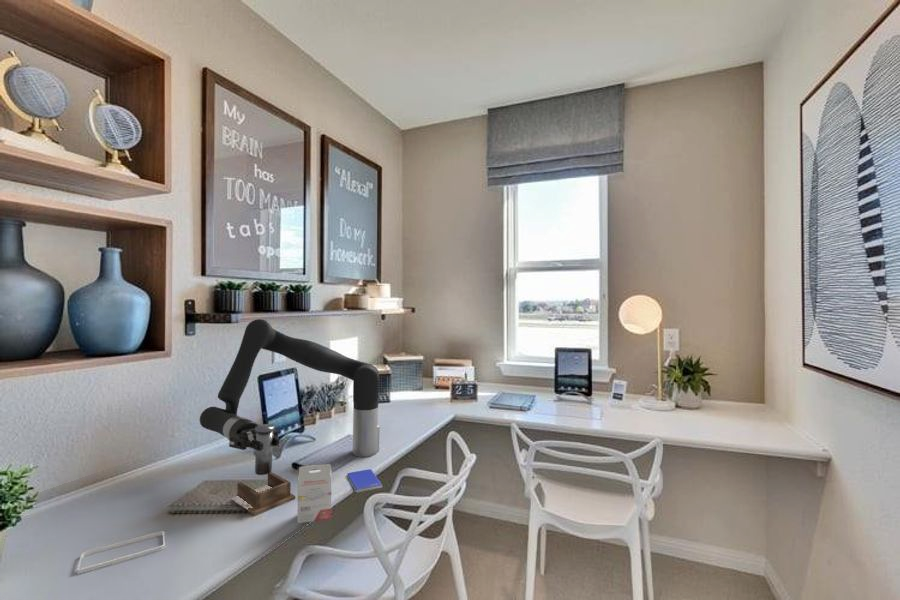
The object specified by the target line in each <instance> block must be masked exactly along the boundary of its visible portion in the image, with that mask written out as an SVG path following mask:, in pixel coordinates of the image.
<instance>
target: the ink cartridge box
mask: <svg viewBox="0 0 900 600" xmlns="http://www.w3.org/2000/svg"><path fill="white" fill-rule="evenodd" d="M331 466H332V465H331V463H327V464H314V465H306V466H304V465H303V466H299V468H298V476H297V477H298V478H297V521H296V522H297V524H304V523H311V522H319V521H326V520H331V519H332V479H333V478H332V467H331Z"/></svg>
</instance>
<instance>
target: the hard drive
mask: <svg viewBox="0 0 900 600" xmlns="http://www.w3.org/2000/svg"><path fill="white" fill-rule="evenodd" d="M346 475H347V476H346V477H347V478H348V480H349V483H350V484H351V485H352V488H353V489H354V491H355V493H361V492H366V491H371V490H378V489H381V488H383V484H382V482H381V481H380V479H379V478H378V477H377V475H376V473H374V471H373V469H371V468H370V469H364V470H358V471H352V472H347V474H346Z"/></svg>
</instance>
